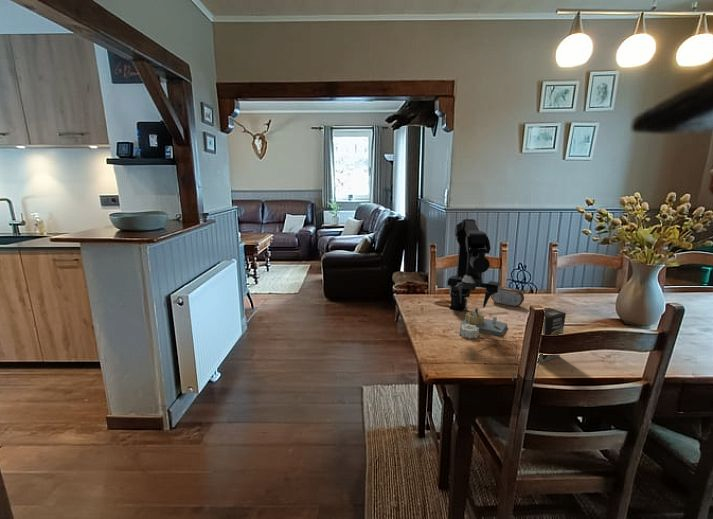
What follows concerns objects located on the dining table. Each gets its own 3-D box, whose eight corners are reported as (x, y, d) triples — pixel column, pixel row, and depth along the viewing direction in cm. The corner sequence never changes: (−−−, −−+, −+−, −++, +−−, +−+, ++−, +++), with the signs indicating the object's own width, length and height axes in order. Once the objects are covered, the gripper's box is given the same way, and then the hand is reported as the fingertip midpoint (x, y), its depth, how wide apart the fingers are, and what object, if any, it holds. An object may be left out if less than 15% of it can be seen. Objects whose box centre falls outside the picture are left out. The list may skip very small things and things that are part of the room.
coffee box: (543, 362, 124) (549, 317, 120) (526, 354, 129) (531, 311, 126) (560, 356, 128) (566, 312, 124) (544, 349, 133) (549, 306, 130)
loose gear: (457, 335, 144) (457, 328, 144) (462, 329, 150) (463, 322, 149) (475, 340, 140) (475, 332, 140) (480, 333, 146) (480, 326, 146)
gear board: (460, 327, 152) (461, 312, 151) (468, 318, 161) (469, 304, 160) (501, 336, 144) (502, 320, 142) (506, 326, 153) (508, 312, 151)
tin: (523, 306, 177) (525, 289, 175) (522, 308, 174) (524, 291, 172) (490, 300, 185) (492, 284, 183) (489, 302, 182) (490, 286, 180)
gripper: (443, 267, 137) (441, 306, 141) (495, 274, 128) (492, 316, 131) (453, 261, 147) (450, 298, 150) (502, 267, 137) (498, 307, 140)
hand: (471, 305), depth 143 cm, fingers open, 9 cm apart
